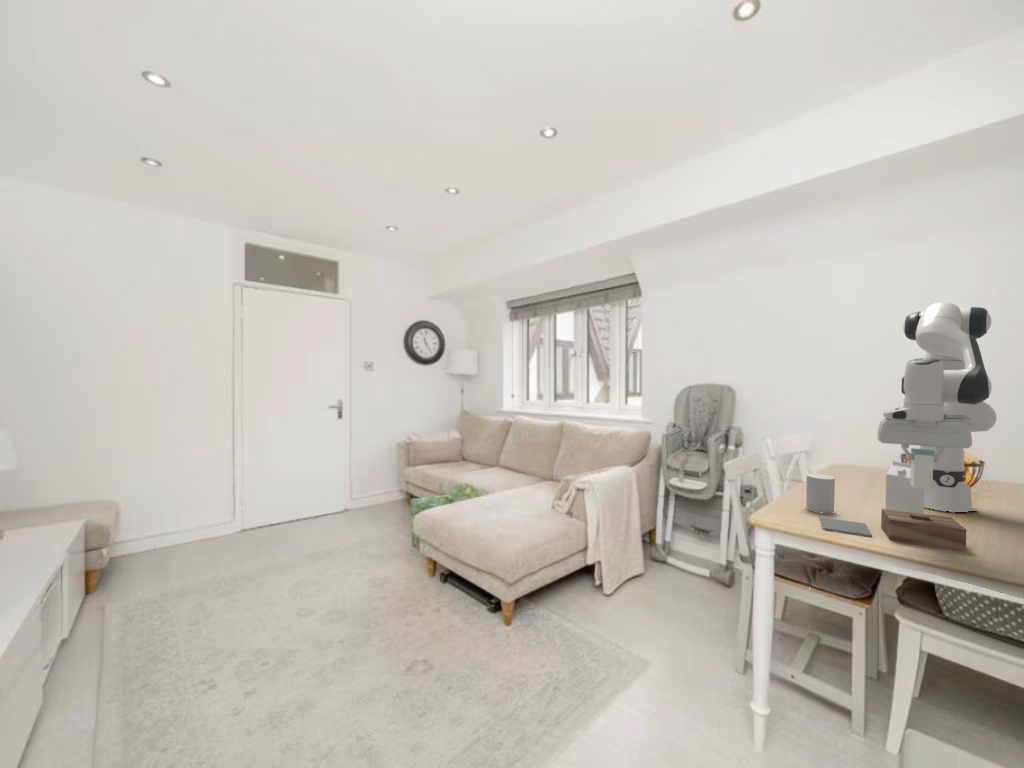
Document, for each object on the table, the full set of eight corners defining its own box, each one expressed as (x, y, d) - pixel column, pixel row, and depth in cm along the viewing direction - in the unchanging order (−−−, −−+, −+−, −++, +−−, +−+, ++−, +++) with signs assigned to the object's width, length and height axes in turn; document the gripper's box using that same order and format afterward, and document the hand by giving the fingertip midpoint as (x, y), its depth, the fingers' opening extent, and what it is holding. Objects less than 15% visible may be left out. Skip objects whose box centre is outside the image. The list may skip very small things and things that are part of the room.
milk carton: (898, 515, 150) (899, 460, 150) (923, 522, 143) (925, 464, 143) (885, 518, 147) (886, 461, 147) (910, 524, 141) (911, 466, 140)
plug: (909, 484, 132) (911, 448, 131) (928, 486, 130) (929, 449, 129) (913, 487, 128) (914, 450, 128) (932, 489, 126) (934, 451, 126)
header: (881, 527, 138) (881, 508, 138) (950, 537, 130) (951, 517, 130) (889, 539, 128) (890, 519, 128) (965, 551, 120) (966, 529, 120)
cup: (837, 510, 156) (838, 476, 155) (829, 515, 151) (829, 480, 150) (811, 505, 162) (811, 472, 162) (802, 509, 157) (803, 475, 157)
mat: (819, 518, 147) (819, 517, 147) (865, 525, 140) (865, 523, 140) (822, 529, 136) (823, 527, 136) (872, 537, 130) (872, 535, 130)
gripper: (968, 414, 126) (967, 462, 126) (876, 411, 136) (875, 455, 137) (977, 416, 120) (975, 466, 121) (881, 413, 131) (880, 459, 131)
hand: (922, 460), depth 129 cm, fingers closed on plug, 4 cm apart
